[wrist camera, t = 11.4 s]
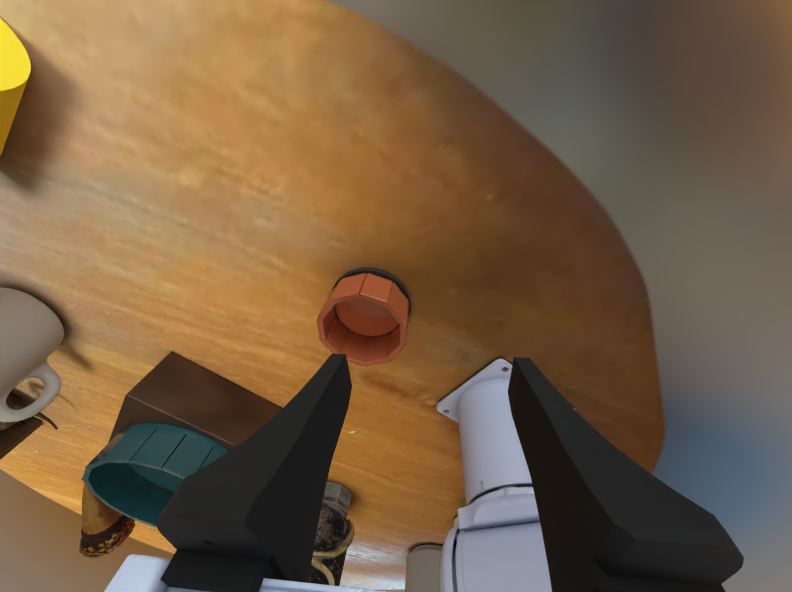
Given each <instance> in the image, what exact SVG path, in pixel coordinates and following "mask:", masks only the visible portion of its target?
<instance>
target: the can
mask: <svg viewBox="0 0 792 592" xmlns="http://www.w3.org/2000/svg"><path fill="white" fill-rule="evenodd" d="M441 551H442V546H437V545H421V546H417V547H416V548H414V549H413V551H412V552H411V553H410V554H409V555H408V556H407V564H406V584H405V592H440V580H439V567H440V556H441Z"/></svg>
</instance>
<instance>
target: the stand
mask: <svg viewBox="0 0 792 592" xmlns="http://www.w3.org/2000/svg"><path fill="white" fill-rule="evenodd" d="M282 409H283V408H281V407H279V406H277V405H275V404H273V403H271V402H269V401H267V400H265V399H263V398H261V397H259V396H257V395H255V394H253V393H251V392H249V391H248V390H246V389H244V388H242V387H240V386H238V385H236V384H234V383H232V382H230V381H228V380H226V379H224V378H222V377H220V376H218V375H216V374H214V373H213V372H211V371H209V370H207V369H205V368H203V367H201V366H199V365H197V364H195V363H193V362H191V361H189V360H187V359H185V358H183V357H181V356H179V355H178V354H176V353H174V352H171V353H169V354H168V355H167V356H166V357H165V358H164V359H163V360H162V361H161V362H160V363H159V364H158V365H157V366H156V367H155V368H154V369H153V370H152V371H151V372H149V373H148V374H147V375H146V376H145V377H144V378H143V379H142V380H141V381H140V382H139V383H138V384H137V385H136V386H135V387H134V388H133V389H132V390H131V391H129V392H128V393H127V394H126V396H125V399H124V402H123V404H122V407H121V410H120V413H119V415H118V418H117V421H116V423H115V426H114V429H113V432H112V434H111V437H110V440H109V442H110V441H111V440H112V439H113V438H114V437H115V436H116V435H117V434H118V433H120V432H121V431H123V430H124V429H125V428H127V427H129V426H131V425H134V424H140V423H162V424H169V425H174V426H178V427H182V428H185V429H188V430H191V431H194V432H197V433H199V434H201V435H204V436H206V437H208V438H210V439H212V440H213V441H215V442H217V443H219V444H220V445H222V446H223V447H225V448H226V449H227V450H229V451H230V450H231V449H233V448H234V447H236V446H237V445H239V444H240V443H242V442H243V441H244V440H246V439H247V438H248V437H249V436H251V435H252V434H253V433H255V432H256V431H257V430H259V429H260V428H261V427H262V426H263V425H265V424H266V423H267V422H268V421H269V420H271V419H272V418H273V417H274V416H275V415H276V414H277V413H278V412H280V411H281V410H282ZM109 442H108V443H109Z"/></svg>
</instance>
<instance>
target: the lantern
mask: <svg viewBox="0 0 792 592" xmlns="http://www.w3.org/2000/svg"><path fill="white" fill-rule="evenodd" d="M350 499H351V493H350V492H349V491H348V490H347V489H346V488H345V487H343V486H342V485H341V484H337V483H333V482H328V481H327V482H326V487H325V492H324V497H323V502H322V507H321V512H320V517H319V523H318V528H317V534H316V539H315V545H314V551H313V557H312V563H311V570H310V576H309V583H314V584H323V585H333V586H339V584H340V580H341V575H342V570H343V566H344V561H345V556H346V551H347V548H348V547H349V546H350V544H351V542H352V540H353V536H354V526H353V524H352V522H351V521H350V520H349V519H348V520H347V519H346V516H347V513H348V512H347V510H348V507H349V503H350Z"/></svg>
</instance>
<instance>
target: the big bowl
mask: <svg viewBox="0 0 792 592" xmlns="http://www.w3.org/2000/svg"><path fill="white" fill-rule="evenodd" d="M228 451H229V450H227V449H226V448H225V447H223V446H222V445H220V444H219V443H217V442H215V441H213V440H212V439H210V438H208V437H206V436H204V435H201V434H199V433H197V432H194V431H191V430H188V429H185V428H182V427H178V426H174V425H169V424H162V423H140V424H134V425H131V426H129V427H127V428H125V429H124V430H123V431H121V432H120V433H118V434H117V435H116V436H115V437H114V438H113V439H112V440H111V441H110V442H109V443H108V444H107V445H106V446H105V447H104V448H103V449H102V451H101V452H100V453H99V454H98V455H97V456H96V457H95V458H94V459H93V460H92V461H91V462H90V463H89V464H88V465H87V466H86V469H85V472H84V475H83V480H84V481H85V483H86V485H87V487H88V488H89V490H90V492H91V493H92V494H94V495H95V496H96V497H97V498H99V499H100V500H101V501H102V502H103V503H105V504H106V505H107V506H109V507H110V508H112V509H114V510H116V511H118V512H120V513H122V514H124V515H125V516H127V517H129V518H132V519H134V520H137V521H139V522H142V523H145V524H148V525H150V526H153V527H157V523H156V521H157V519H158V517H159V516H160V514H161V513H162V511H163V509H164V508H165V506H166V505H167V503H168V502H169V500H170V499H171V497H172V496H173V494H174V493H175V491H176V489H177V488H178V487H179V485H180V484H181V483H182V481H183V480H184V478H186V477H188V476H189V475H191V474H193V473H195V472H196V471H198V470H200V469H201V468H203V467H205V466H206V465H208V464H210V463H211V462H213V461H215V460H216V459H218V458H219V457H221V456H222V455H224V454H225V453H227V452H228Z"/></svg>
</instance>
